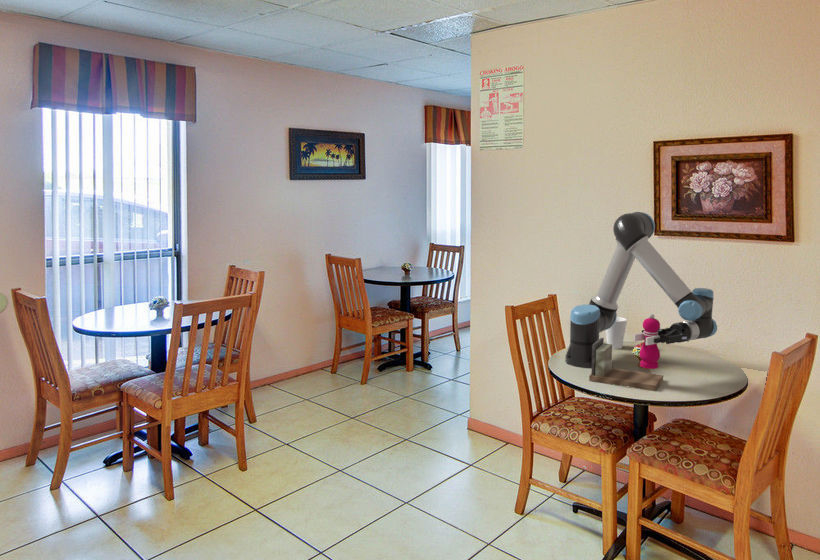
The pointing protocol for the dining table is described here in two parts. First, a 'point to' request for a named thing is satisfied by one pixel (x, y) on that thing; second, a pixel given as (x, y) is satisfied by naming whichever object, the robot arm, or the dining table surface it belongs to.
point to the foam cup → (616, 333)
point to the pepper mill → (650, 352)
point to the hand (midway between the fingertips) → (640, 339)
